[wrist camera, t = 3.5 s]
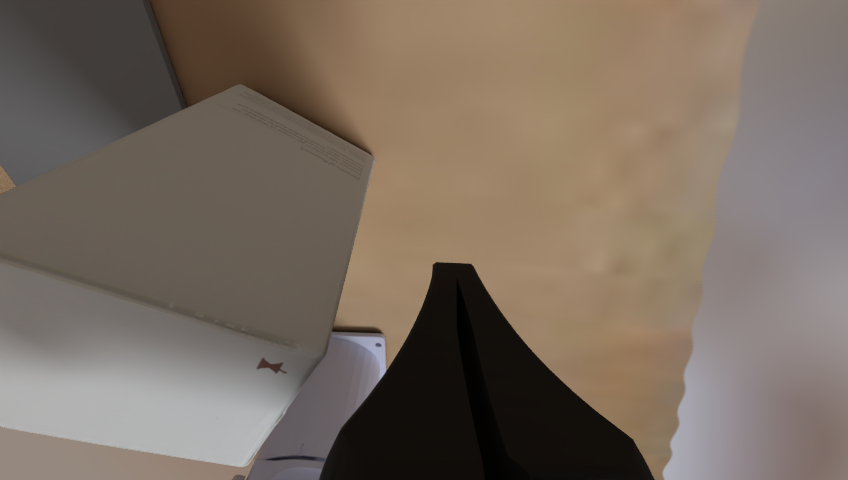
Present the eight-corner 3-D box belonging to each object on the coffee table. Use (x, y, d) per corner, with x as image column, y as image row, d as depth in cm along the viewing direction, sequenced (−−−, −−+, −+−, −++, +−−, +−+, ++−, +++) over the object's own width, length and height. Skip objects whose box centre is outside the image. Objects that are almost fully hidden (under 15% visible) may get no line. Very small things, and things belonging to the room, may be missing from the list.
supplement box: (238, 77, 15) (-116, 218, 5) (379, 156, 18) (337, 361, 7) (204, 197, 19) (-45, 426, 9) (326, 250, 21) (247, 477, 11)
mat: (251, 289, 24) (248, 293, 23) (95, 283, 23) (90, 287, 23) (135, -37, 13) (128, -38, 13) (-146, -52, 13) (-160, -54, 13)
